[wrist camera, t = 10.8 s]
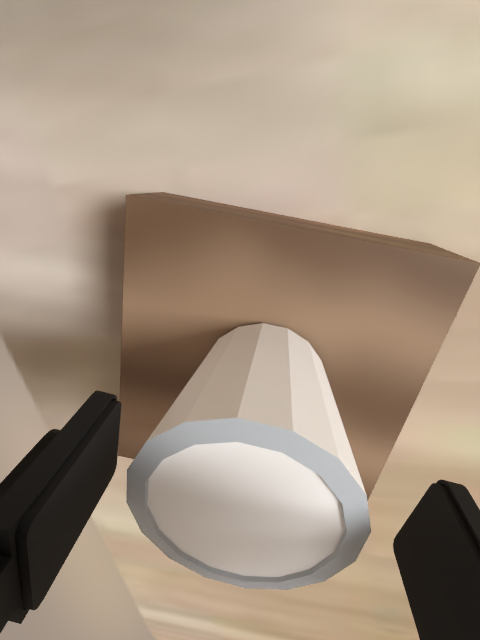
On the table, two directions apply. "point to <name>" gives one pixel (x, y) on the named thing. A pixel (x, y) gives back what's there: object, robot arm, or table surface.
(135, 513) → the shot glass
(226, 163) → the table surface
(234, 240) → the walnut block
